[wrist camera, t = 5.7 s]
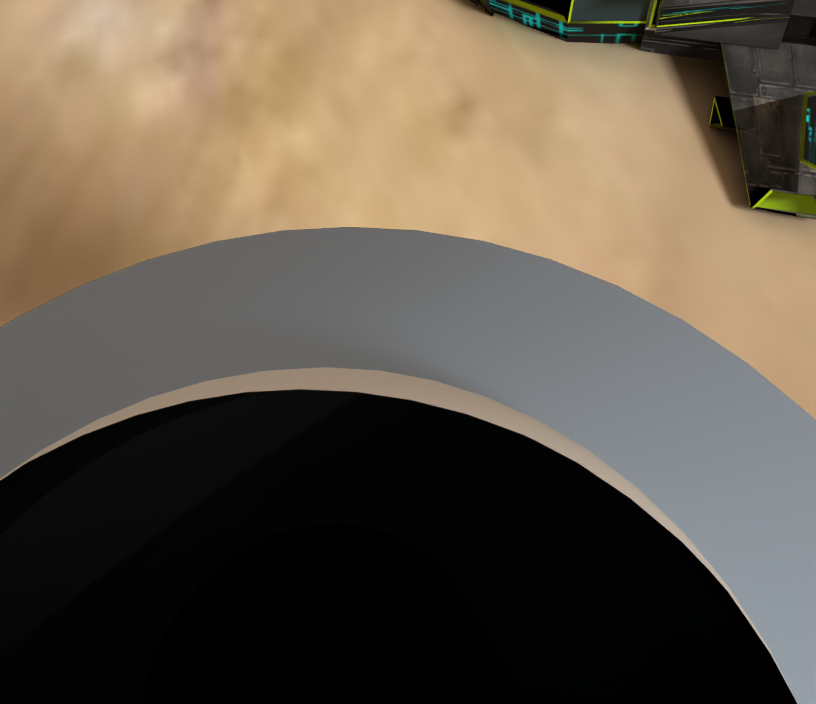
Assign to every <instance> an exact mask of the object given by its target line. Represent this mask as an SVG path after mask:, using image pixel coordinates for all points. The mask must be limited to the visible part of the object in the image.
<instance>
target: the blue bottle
mask: <svg viewBox="0 0 816 704" xmlns="http://www.w3.org/2000/svg"><path fill="white" fill-rule="evenodd" d="M0 704H816V420H815V419H814V418H813V417H812V416H811V415H810V414H808V413H807V412H806V411H805V410H803V409H802V408H801V407H800V406H799V405H797V404H796V403H795V402H794V401H793V400H791V399H790V398H789V397H788V396H787V395H785V394H784V393H783V392H782V391H781V390H779V389H778V388H777V387H776V386H775V385H773V384H772V383H771V382H770V381H768V380H767V379H766V378H765V377H764V376H762V375H761V374H760V373H759V372H758V371H756V370H755V369H754V368H753V367H752V366H750V365H749V364H748V363H746V362H745V361H743V360H742V359H740V358H739V357H737V356H736V355H734V354H733V353H731V352H730V351H728V350H727V349H725V348H724V347H722V346H721V345H719V344H718V343H716V342H715V341H713V340H712V339H710V338H709V337H707V336H706V335H704V334H703V333H701V332H700V331H698V330H697V329H695V328H694V327H692V326H691V325H689V324H688V323H686V322H685V321H683V320H682V319H680V318H678V317H676V316H674V315H672V314H670V313H668V312H666V311H665V310H663V309H661V308H659V307H657V306H655V305H653V304H651V303H649V302H647V301H645V300H644V299H642V298H640V297H638V296H636V295H634V294H632V293H630V292H628V291H626V290H624V289H622V288H621V287H619V286H617V285H614V284H612V283H609V282H607V281H604V280H601V279H599V278H596V277H594V276H591V275H589V274H586V273H584V272H581V271H579V270H576V269H574V268H571V267H568V266H566V265H563V264H561V263H558V262H556V261H553V260H551V259H547V258H544V257H540V256H536V255H533V254H529V253H525V252H522V251H518V250H514V249H511V248H507V247H503V246H500V245H496V244H492V243H489V242H485V241H480V240H474V239H467V238H461V237H455V236H449V235H442V234H436V233H430V232H424V231H417V230H399V229H380V228H361V227H340V228H322V229H304V230H286V231H278V232H271V233H265V234H259V235H253V236H247V237H241V238H234V239H228V240H222V241H216V242H212V243H208V244H205V245H201V246H197V247H194V248H190V249H186V250H182V251H179V252H175V253H171V254H168V255H164V256H160V257H157V258H153V259H149V260H146V261H144V262H141V263H138V264H136V265H133V266H131V267H128V268H125V269H123V270H120V271H117V272H115V273H112V274H110V275H107V276H104V277H102V278H99V279H97V280H94V281H91V282H89V283H86V284H84V285H81V286H79V287H77V288H75V289H73V290H71V291H69V292H67V293H65V294H63V295H61V296H59V297H57V298H55V299H53V300H51V301H49V302H47V303H45V304H43V305H41V306H39V307H37V308H35V309H33V310H31V311H29V312H27V313H25V314H23V315H21V316H19V317H17V318H15V319H13V320H11V321H10V322H8V323H7V324H5V325H3V326H2V327H0Z"/></svg>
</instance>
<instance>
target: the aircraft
mask: <svg viewBox="0 0 816 704" xmlns="http://www.w3.org/2000/svg"><path fill="white" fill-rule="evenodd" d="M471 1H472V2H473V3H475V4H476V5H478V3H479V4H480V5H482V6H483V7H484V8H485V11H486V12H487V13H489V14H490V15H492V16H493V14H494V11H495V10H496V11H498V12H500V13H502V14H504V15H506V16H508V17H510V18H512V19H514V20H516V21H518V22H520V23H522V24H524V25H526V26H529V27H531V28H534V29H536V30H539V31H541V32H544V33H546V34H549V35H551V36H554V37H556V38H559V39H561V40H564V41H566V42H585V43H627V42H641V46H640V50H642V51H648V52H655V53H662V54H670V55H678V56H686V57H694V58H702V59H710V60H717V61H721V65H722V69H723V74H724V78H725V82H726V86H727V91H728V95H729V98H728V97H720V96H714V100H713V105H712V111H711V116H710V121H709V125H710V127H716V128H723V129H730V130H737V136H738V141H739V147H740V152H741V158H742V164H743V169H744V175H745V180H746V186H747V191H748V197H749V203H750V207H751V209H756V210H762V211H768V212H774V213H780V214H786V215H792V216H798V217H804V218H811V219H816V0H471Z"/></svg>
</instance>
